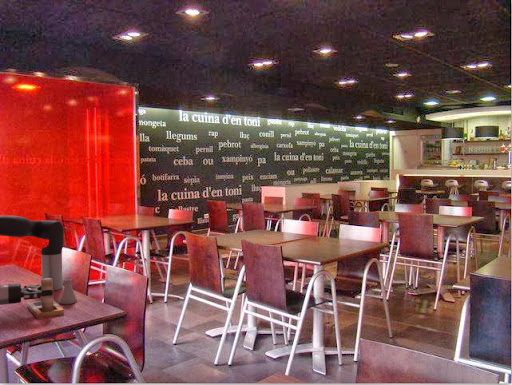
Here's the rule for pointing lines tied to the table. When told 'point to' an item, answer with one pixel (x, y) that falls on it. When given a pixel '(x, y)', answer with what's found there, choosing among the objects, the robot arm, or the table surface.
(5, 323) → the table surface
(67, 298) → the flask
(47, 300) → the wooden peg
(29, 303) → the flat wooden frame
